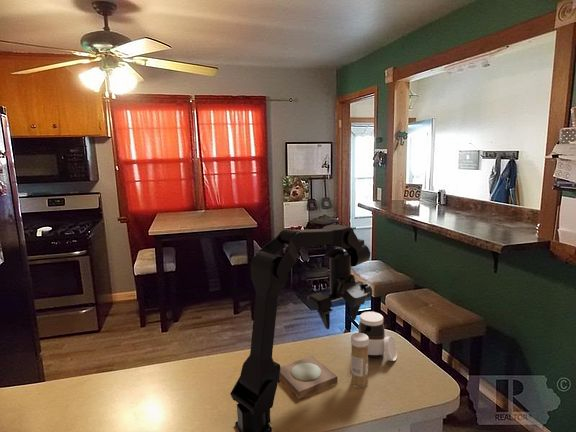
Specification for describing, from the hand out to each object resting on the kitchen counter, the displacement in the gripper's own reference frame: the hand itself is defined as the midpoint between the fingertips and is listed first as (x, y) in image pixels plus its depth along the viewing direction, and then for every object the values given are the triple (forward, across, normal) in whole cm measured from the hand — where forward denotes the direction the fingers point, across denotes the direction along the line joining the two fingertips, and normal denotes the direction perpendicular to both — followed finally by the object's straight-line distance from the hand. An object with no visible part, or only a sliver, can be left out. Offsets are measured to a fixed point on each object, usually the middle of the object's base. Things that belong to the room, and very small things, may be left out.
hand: (340, 324), depth 104 cm
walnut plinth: (+13, -11, +1) cm, 17 cm away
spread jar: (+14, +14, 0) cm, 20 cm away
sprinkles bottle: (+14, 0, -8) cm, 16 cm away
